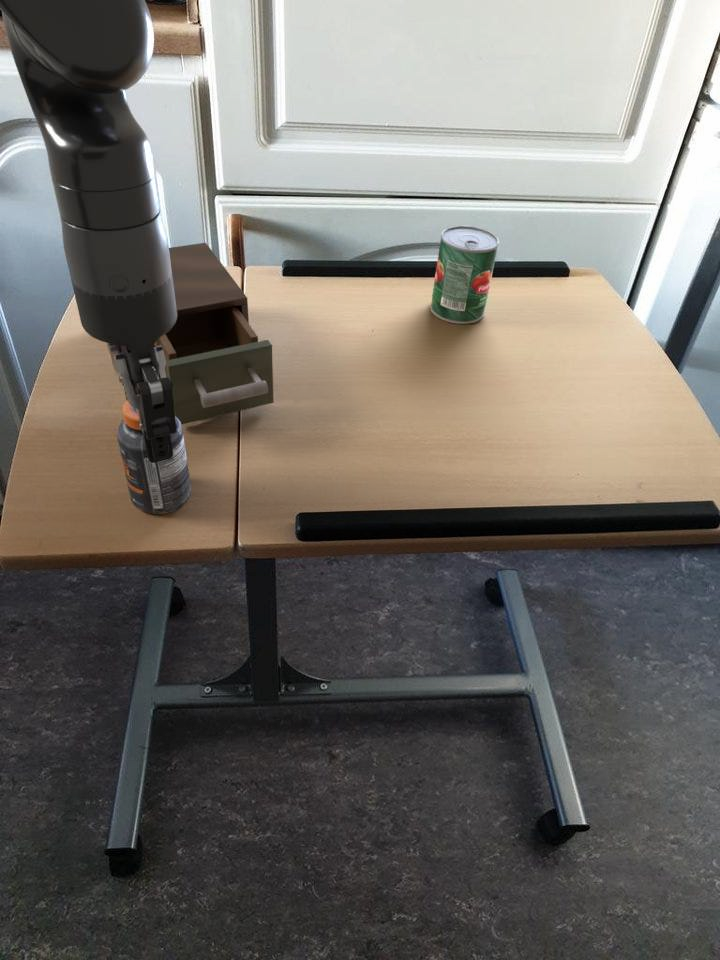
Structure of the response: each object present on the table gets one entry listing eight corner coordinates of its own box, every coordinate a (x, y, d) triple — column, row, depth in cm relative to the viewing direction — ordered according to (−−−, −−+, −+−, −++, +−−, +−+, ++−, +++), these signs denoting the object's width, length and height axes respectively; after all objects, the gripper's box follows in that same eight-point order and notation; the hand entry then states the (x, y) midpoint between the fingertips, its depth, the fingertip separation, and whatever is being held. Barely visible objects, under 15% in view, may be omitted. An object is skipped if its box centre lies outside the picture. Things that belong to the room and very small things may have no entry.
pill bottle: (125, 483, 72) (105, 392, 64) (183, 469, 74) (170, 380, 66) (137, 522, 68) (117, 431, 60) (198, 507, 70) (186, 416, 62)
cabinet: (251, 366, 88) (247, 297, 82) (150, 388, 84) (138, 316, 77) (211, 308, 98) (205, 242, 92) (119, 324, 94) (107, 256, 87)
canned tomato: (427, 296, 105) (437, 223, 97) (478, 297, 105) (493, 226, 98) (434, 323, 99) (445, 249, 92) (488, 325, 100) (504, 251, 92)
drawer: (287, 424, 79) (287, 365, 74) (188, 449, 75) (180, 389, 69) (231, 340, 91) (227, 284, 86) (143, 357, 87) (133, 300, 81)
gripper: (197, 304, 51) (214, 474, 62) (146, 225, 60) (169, 386, 72) (90, 323, 48) (129, 498, 60) (53, 237, 57) (93, 403, 69)
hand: (151, 436), depth 66 cm, fingers closed on pill bottle, 6 cm apart
